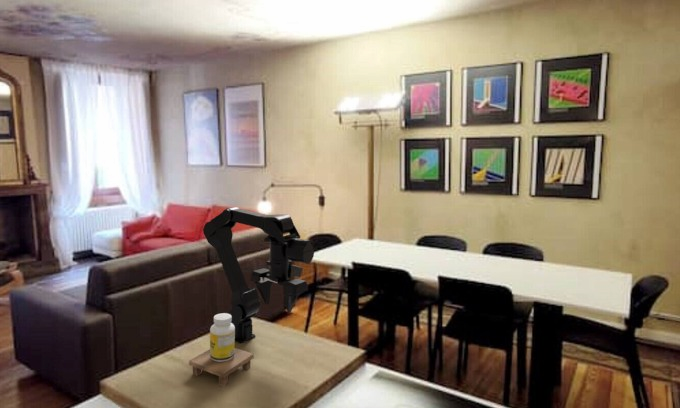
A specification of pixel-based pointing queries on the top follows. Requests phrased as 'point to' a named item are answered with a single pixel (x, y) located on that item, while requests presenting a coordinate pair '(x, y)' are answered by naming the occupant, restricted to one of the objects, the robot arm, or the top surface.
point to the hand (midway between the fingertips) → (278, 308)
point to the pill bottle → (222, 338)
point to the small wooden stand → (221, 364)
